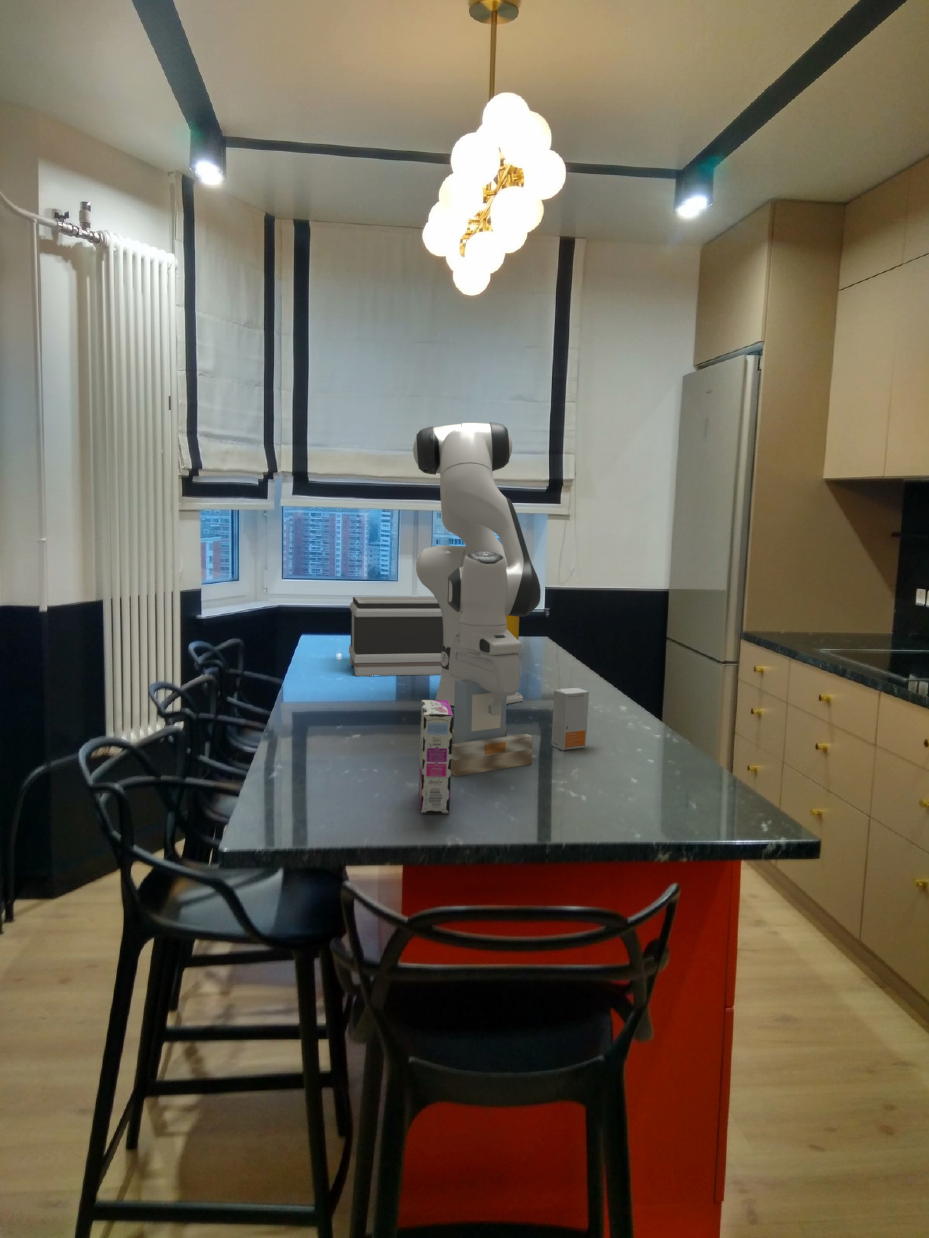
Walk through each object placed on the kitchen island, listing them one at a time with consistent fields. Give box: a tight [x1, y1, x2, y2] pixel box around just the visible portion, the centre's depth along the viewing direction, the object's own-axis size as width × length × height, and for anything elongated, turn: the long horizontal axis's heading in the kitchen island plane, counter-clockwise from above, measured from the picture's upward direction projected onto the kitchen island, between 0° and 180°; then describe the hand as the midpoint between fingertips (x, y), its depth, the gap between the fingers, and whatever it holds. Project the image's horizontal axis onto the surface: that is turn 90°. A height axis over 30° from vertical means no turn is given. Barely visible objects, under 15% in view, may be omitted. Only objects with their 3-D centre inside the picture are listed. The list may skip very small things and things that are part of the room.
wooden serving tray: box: [451, 725, 533, 777], centre depth 166 cm, size 17×11×6 cm, turn 120°
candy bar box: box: [418, 699, 454, 815], centre depth 142 cm, size 11×5×16 cm, turn 5°
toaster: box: [348, 596, 443, 677], centre depth 254 cm, size 18×34×21 cm, turn 103°
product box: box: [453, 679, 507, 744], centre depth 165 cm, size 5×9×13 cm, turn 120°
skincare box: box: [551, 687, 590, 751], centre depth 178 cm, size 6×4×12 cm
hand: (480, 708), depth 165 cm, fingers open, 8 cm apart
